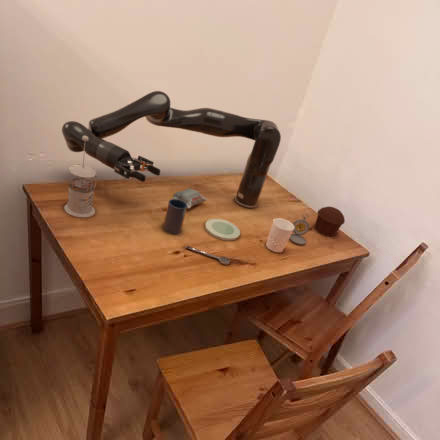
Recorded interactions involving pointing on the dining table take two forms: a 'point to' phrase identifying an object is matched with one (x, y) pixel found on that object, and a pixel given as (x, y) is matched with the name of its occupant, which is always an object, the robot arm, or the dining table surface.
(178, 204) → the tumbler
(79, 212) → the french press
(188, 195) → the packaged food
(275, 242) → the white cup
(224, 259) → the spoon
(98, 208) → the dining table surface
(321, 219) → the muffin
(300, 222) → the pocket watch
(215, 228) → the side plate
